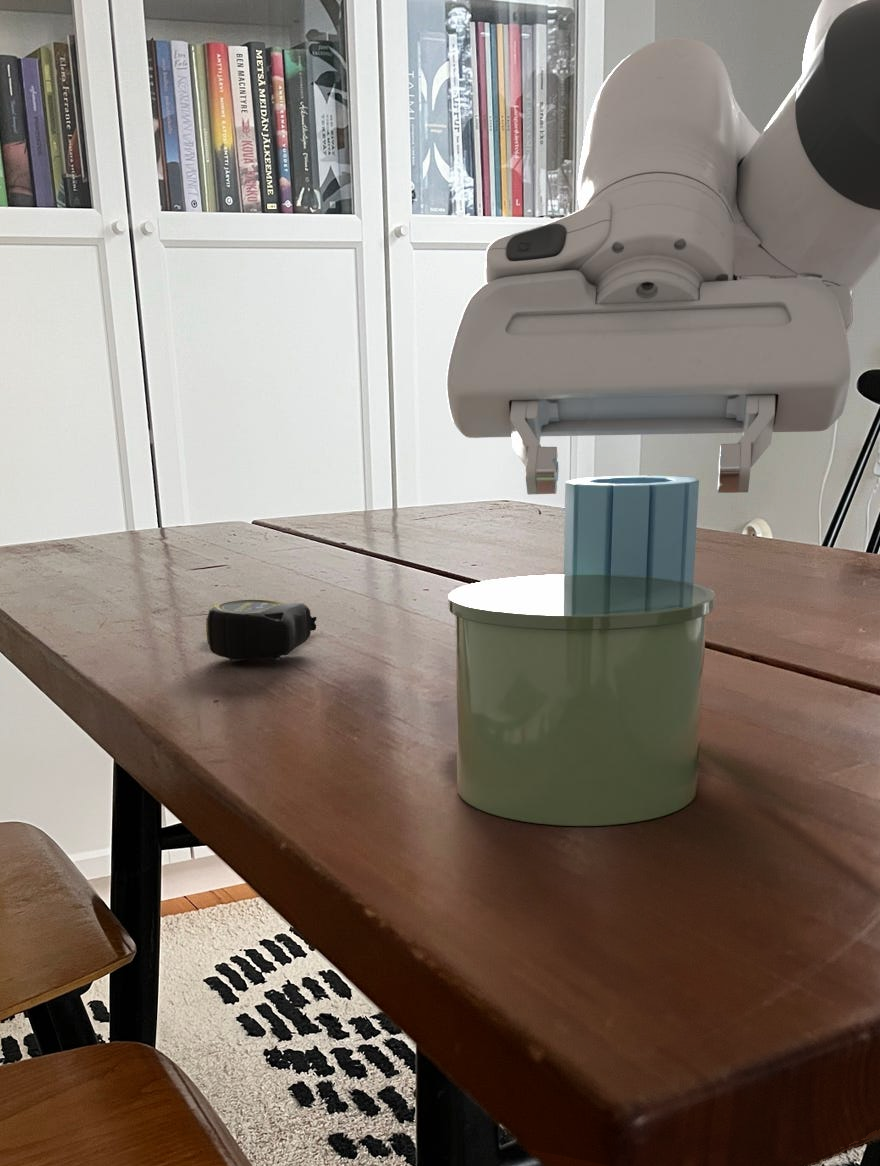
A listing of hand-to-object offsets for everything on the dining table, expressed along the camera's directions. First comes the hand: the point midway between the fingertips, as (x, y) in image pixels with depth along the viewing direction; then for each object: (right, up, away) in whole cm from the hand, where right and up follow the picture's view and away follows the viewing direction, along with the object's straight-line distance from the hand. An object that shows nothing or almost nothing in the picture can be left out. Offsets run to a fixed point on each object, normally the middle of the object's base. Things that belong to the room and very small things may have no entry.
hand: (635, 485), depth 63 cm
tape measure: (-21, -5, +26) cm, 34 cm away
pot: (-2, -14, 0) cm, 14 cm away
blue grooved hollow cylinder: (0, -7, +3) cm, 8 cm away
